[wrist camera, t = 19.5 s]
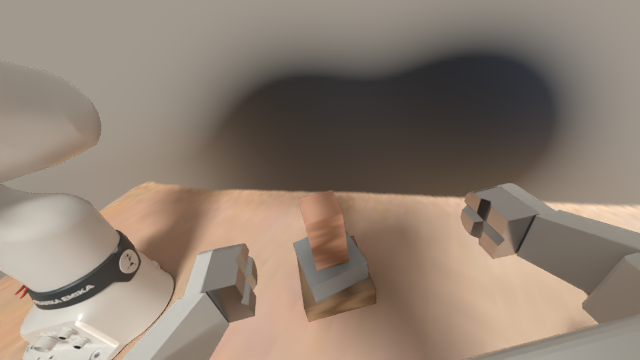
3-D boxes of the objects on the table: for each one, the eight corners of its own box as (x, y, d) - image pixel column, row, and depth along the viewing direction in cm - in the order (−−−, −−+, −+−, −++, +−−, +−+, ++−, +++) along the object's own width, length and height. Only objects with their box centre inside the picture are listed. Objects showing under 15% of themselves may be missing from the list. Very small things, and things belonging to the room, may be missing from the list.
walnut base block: (309, 323, 37) (304, 308, 35) (300, 265, 46) (296, 250, 44) (376, 304, 38) (375, 288, 36) (354, 251, 47) (353, 235, 45)
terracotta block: (316, 271, 35) (304, 222, 29) (310, 246, 39) (298, 198, 34) (349, 261, 35) (342, 211, 30) (339, 237, 40) (332, 189, 34)
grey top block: (315, 303, 35) (311, 287, 33) (297, 258, 42) (292, 243, 40) (368, 277, 37) (367, 261, 35) (342, 238, 44) (340, 223, 42)
